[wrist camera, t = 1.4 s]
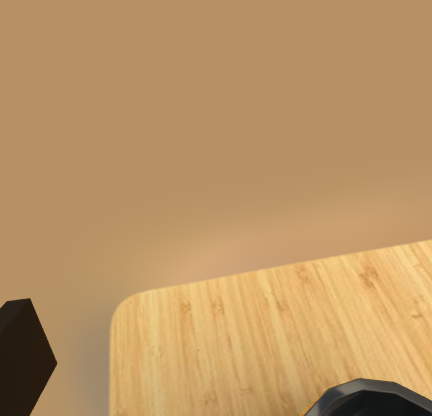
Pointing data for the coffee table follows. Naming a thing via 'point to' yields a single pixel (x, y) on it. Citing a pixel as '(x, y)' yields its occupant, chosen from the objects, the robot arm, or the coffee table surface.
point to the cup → (369, 400)
